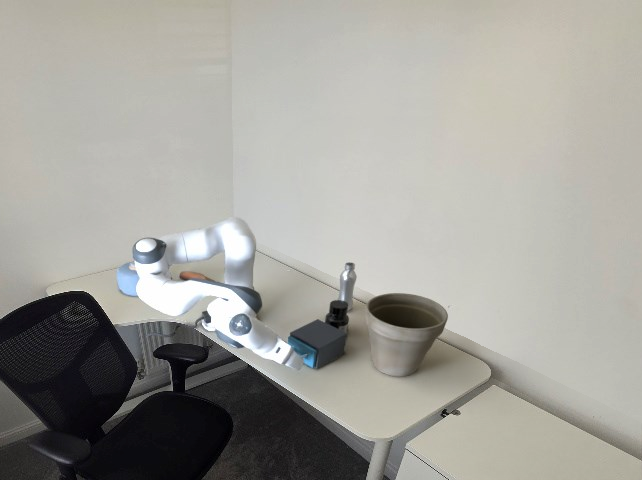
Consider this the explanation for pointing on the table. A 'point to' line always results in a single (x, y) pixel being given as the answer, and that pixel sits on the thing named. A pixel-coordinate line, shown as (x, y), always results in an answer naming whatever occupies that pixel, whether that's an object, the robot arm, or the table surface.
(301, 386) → the table surface
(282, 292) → the table surface
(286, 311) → the table surface
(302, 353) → the blue drawer
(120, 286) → the blue kettle
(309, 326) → the drawer cabinet
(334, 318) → the ink bottle
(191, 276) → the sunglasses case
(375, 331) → the flower pot
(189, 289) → the robot arm
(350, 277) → the silver metal bottle
